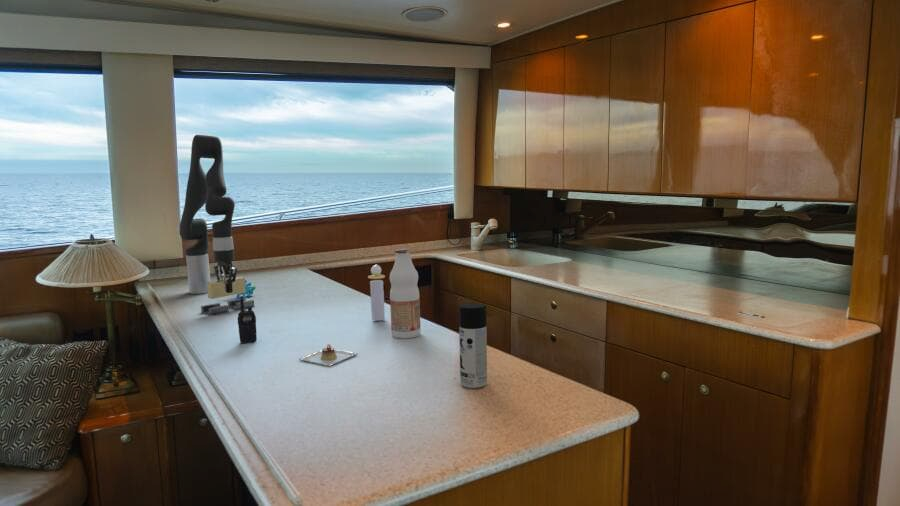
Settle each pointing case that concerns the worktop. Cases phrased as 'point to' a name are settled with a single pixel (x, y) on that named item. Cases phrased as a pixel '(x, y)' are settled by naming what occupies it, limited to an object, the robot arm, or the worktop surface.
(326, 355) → the dessert
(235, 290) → the link bar
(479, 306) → the spray can
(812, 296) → the worktop surface
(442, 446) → the worktop surface
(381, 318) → the perfume bottle
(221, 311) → the grey u-channel block
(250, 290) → the gear
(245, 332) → the two-way radio
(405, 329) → the fruit juice
